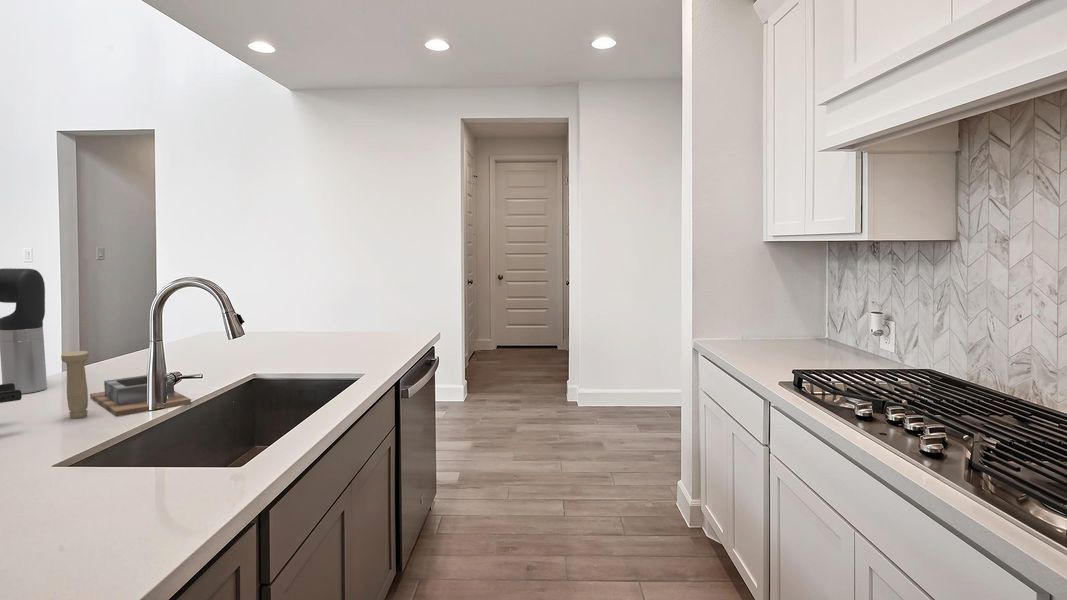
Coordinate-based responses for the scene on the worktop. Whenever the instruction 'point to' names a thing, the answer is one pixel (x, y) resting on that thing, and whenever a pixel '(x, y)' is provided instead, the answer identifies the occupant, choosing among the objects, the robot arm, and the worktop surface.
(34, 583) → the worktop surface
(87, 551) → the worktop surface
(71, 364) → the handle
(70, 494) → the worktop surface
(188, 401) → the wooden base with tray
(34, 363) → the robot arm
